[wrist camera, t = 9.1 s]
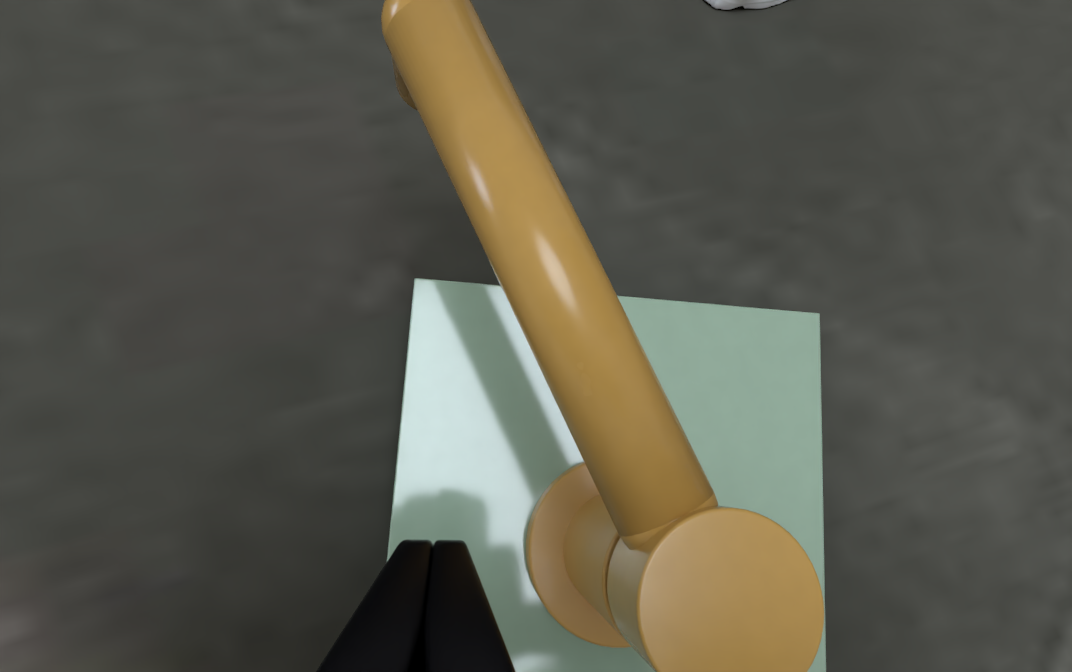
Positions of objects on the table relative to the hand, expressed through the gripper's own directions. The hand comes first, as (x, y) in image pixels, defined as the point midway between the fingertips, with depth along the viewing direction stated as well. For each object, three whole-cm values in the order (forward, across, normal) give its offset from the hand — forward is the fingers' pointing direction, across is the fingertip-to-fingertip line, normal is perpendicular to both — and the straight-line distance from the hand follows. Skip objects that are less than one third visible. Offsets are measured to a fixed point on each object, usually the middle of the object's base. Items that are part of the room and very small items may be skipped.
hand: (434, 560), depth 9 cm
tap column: (+6, -4, +7) cm, 11 cm away
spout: (+6, -2, 0) cm, 6 cm away
